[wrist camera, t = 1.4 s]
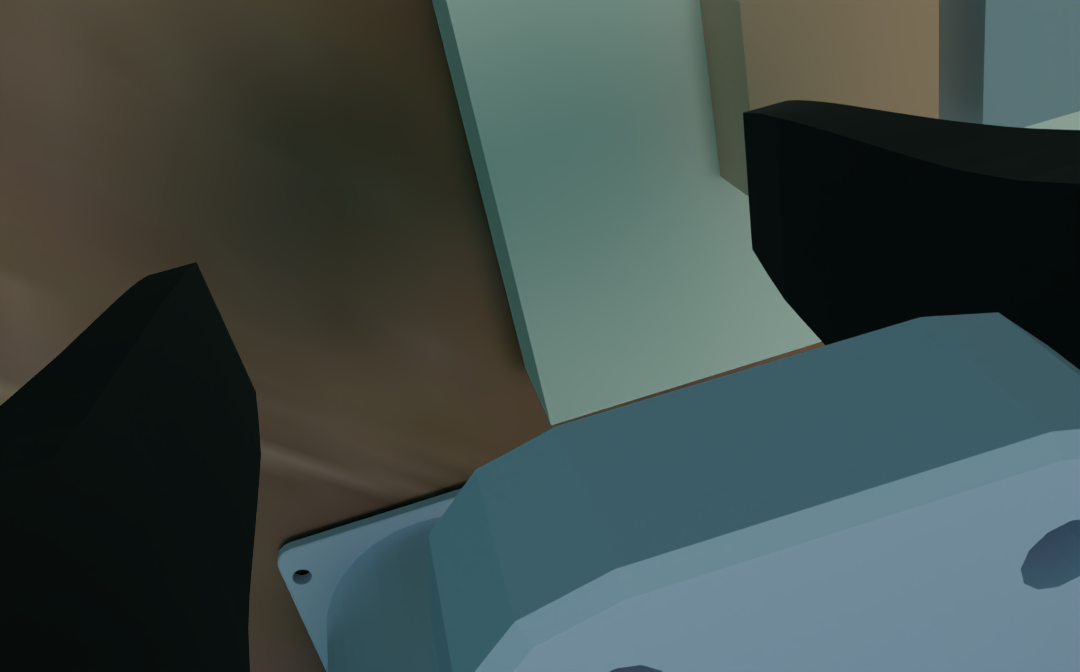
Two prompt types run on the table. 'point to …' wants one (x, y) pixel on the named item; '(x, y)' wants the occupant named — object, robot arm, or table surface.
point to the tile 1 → (816, 60)
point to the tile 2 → (1008, 61)
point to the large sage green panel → (612, 197)
